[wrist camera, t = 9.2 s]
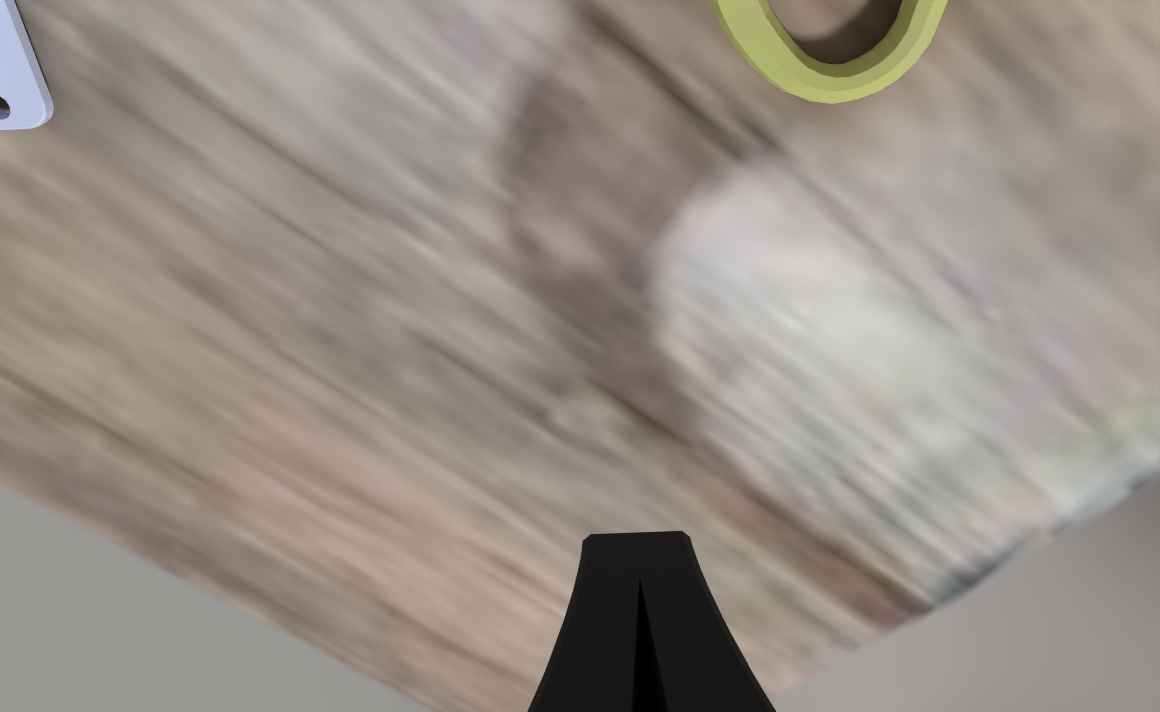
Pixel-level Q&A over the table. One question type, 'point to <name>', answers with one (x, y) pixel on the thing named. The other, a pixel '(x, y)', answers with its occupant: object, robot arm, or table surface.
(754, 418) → the table surface
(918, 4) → the key
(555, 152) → the table surface
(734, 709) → the robot arm
